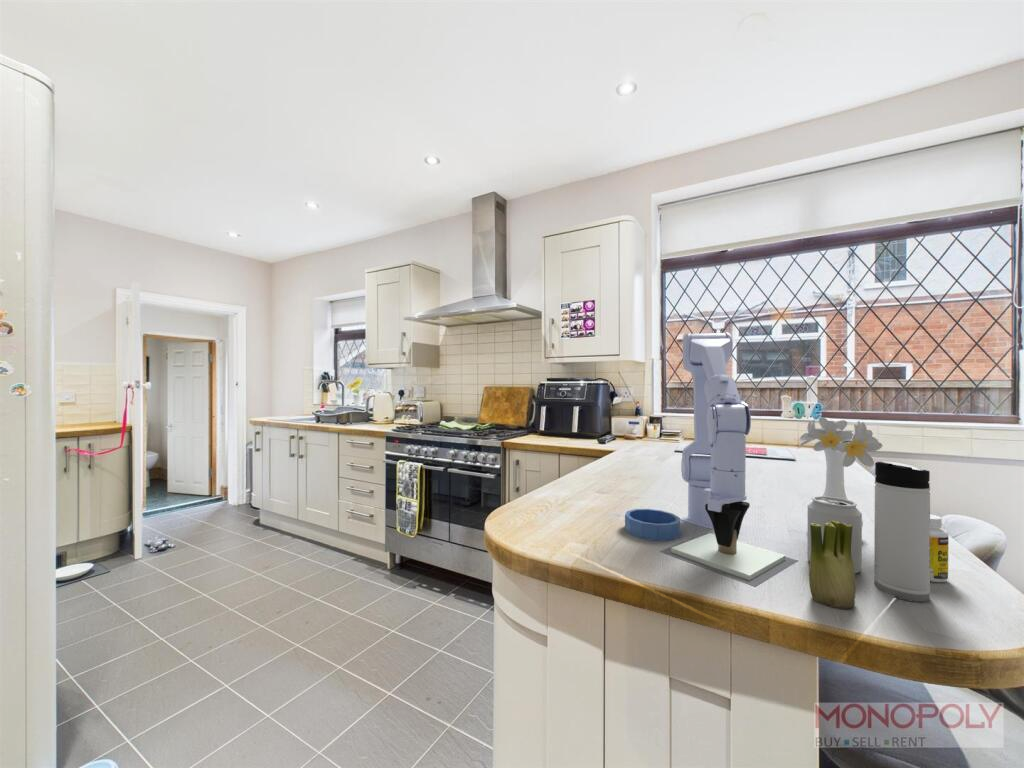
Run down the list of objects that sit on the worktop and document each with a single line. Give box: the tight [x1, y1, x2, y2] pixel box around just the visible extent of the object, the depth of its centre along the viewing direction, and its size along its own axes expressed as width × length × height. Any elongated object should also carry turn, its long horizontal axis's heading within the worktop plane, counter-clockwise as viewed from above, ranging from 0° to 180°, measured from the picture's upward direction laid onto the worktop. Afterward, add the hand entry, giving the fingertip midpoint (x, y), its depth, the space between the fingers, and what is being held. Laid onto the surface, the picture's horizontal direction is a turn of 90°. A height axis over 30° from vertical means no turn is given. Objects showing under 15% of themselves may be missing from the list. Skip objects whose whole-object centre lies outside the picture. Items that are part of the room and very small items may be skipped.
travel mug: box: [873, 461, 931, 603], centre depth 64 cm, size 6×7×20 cm
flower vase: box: [796, 416, 883, 528], centre depth 89 cm, size 13×18×25 cm
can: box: [806, 495, 863, 574], centre depth 72 cm, size 8×8×12 cm
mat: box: [659, 533, 799, 588], centre depth 76 cm, size 17×17×1 cm
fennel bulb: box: [808, 521, 857, 610], centre depth 60 cm, size 6×5×12 cm
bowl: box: [624, 508, 681, 542], centre depth 89 cm, size 11×11×4 cm
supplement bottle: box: [930, 513, 949, 583], centre depth 70 cm, size 6×6×10 cm
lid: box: [671, 529, 787, 580], centre depth 76 cm, size 14×14×5 cm
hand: (727, 542), depth 76 cm, fingers closed on lid, 3 cm apart
